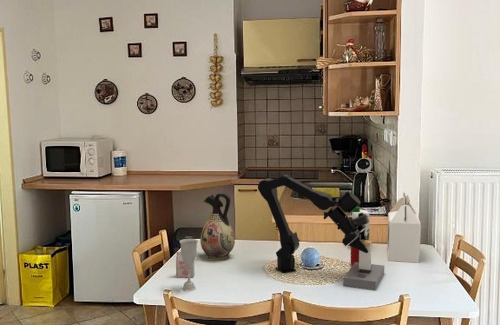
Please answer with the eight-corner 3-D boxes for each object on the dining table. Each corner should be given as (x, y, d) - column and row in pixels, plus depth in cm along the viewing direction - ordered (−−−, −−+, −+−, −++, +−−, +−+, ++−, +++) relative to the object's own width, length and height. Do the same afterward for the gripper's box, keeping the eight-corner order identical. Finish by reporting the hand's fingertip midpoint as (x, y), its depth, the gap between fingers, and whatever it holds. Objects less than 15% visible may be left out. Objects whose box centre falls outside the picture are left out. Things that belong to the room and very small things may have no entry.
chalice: (180, 285, 206) (179, 238, 204) (198, 284, 207) (198, 238, 205) (179, 292, 199) (179, 243, 197) (198, 291, 199) (197, 243, 197)
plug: (358, 268, 212) (359, 241, 211) (360, 265, 216) (361, 239, 215) (369, 269, 211) (369, 242, 209) (370, 266, 214) (371, 240, 213)
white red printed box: (177, 274, 219) (177, 250, 218) (194, 275, 219) (194, 250, 218) (176, 277, 215) (176, 253, 214) (193, 278, 215) (193, 253, 214)
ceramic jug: (194, 260, 239) (193, 192, 236) (209, 251, 254) (209, 187, 250) (229, 264, 233) (229, 195, 230) (243, 255, 247) (243, 190, 244)
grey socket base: (343, 286, 206) (343, 277, 205) (354, 270, 226) (355, 261, 226) (375, 290, 201) (375, 281, 201) (384, 273, 222) (384, 265, 221)
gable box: (419, 263, 237) (422, 199, 234) (388, 261, 240) (390, 198, 237) (415, 250, 259) (418, 191, 256) (387, 248, 262) (389, 190, 259)
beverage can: (366, 268, 228) (367, 240, 227) (350, 267, 230) (351, 239, 228) (366, 264, 235) (367, 237, 234) (350, 263, 236) (351, 236, 235)
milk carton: (348, 245, 266) (349, 205, 264) (366, 245, 266) (367, 205, 264) (351, 250, 257) (352, 208, 255) (370, 250, 257) (371, 208, 255)
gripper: (351, 211, 203) (380, 243, 200) (361, 203, 221) (387, 232, 218) (330, 230, 207) (358, 261, 204) (341, 220, 224) (367, 249, 221)
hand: (369, 250), depth 212 cm, fingers open, 6 cm apart
